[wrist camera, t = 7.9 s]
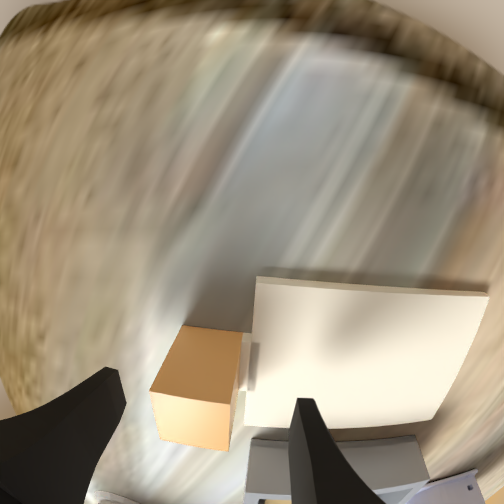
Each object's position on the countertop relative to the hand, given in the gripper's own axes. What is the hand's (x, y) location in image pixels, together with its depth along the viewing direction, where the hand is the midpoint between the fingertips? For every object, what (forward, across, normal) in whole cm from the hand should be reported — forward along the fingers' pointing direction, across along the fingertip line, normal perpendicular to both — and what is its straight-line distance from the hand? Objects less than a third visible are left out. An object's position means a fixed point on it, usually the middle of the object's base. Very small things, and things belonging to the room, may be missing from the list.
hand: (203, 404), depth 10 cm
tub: (+3, -8, +10) cm, 13 cm away
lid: (+3, -6, 0) cm, 7 cm away
